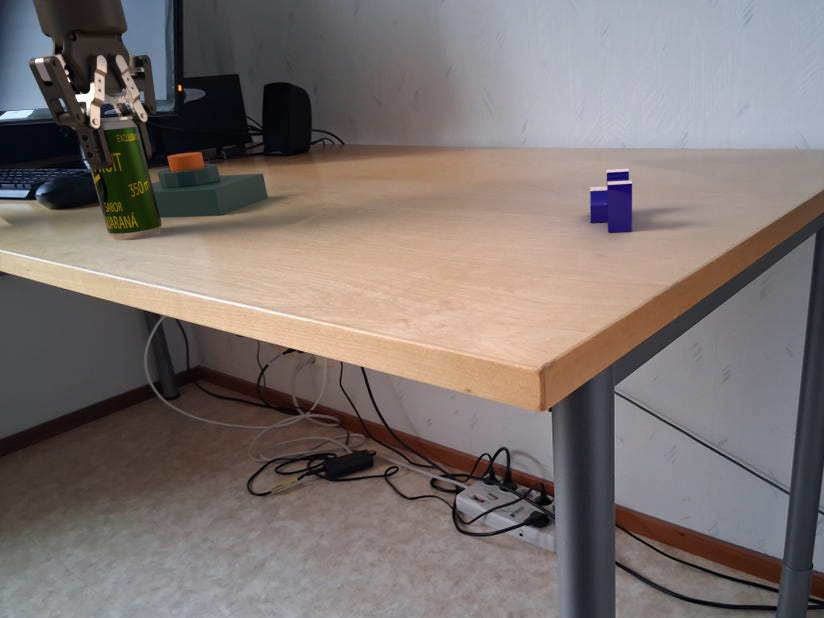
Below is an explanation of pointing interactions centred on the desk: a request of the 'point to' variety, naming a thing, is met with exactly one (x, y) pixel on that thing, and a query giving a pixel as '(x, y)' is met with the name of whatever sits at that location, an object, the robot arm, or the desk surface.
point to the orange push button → (186, 161)
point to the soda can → (126, 183)
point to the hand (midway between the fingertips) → (122, 163)
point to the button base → (205, 192)
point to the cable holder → (613, 201)
